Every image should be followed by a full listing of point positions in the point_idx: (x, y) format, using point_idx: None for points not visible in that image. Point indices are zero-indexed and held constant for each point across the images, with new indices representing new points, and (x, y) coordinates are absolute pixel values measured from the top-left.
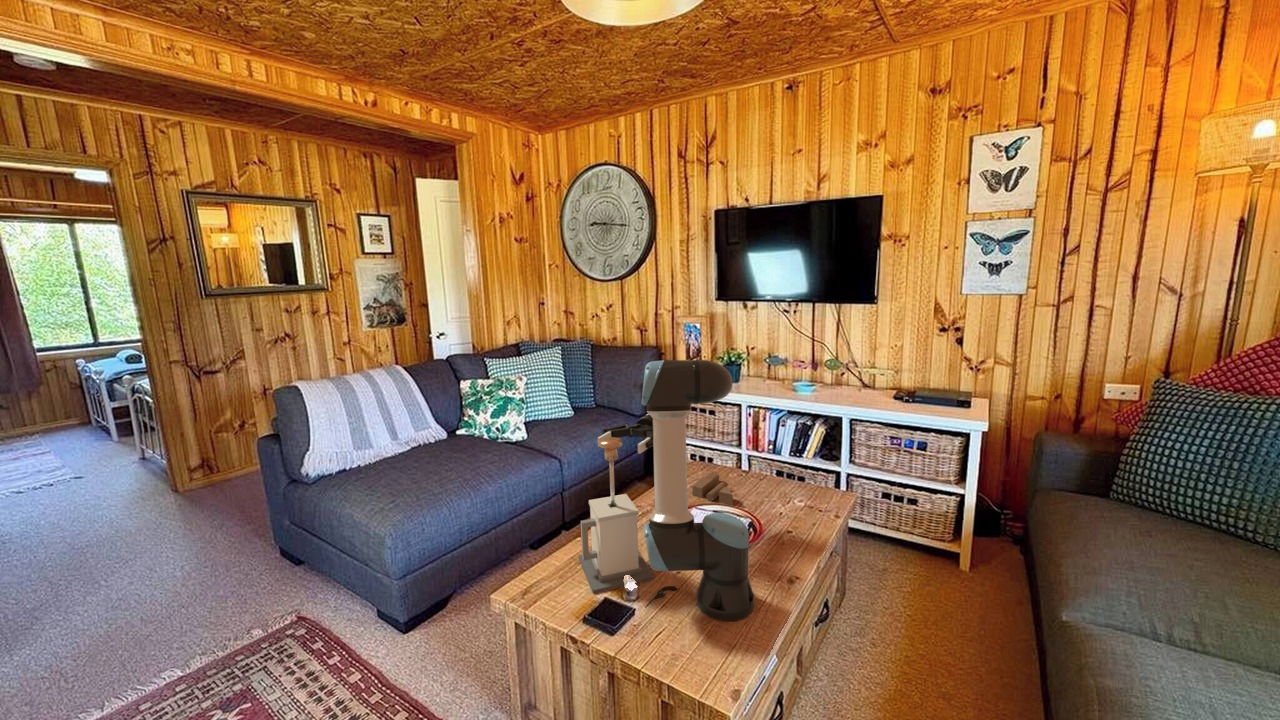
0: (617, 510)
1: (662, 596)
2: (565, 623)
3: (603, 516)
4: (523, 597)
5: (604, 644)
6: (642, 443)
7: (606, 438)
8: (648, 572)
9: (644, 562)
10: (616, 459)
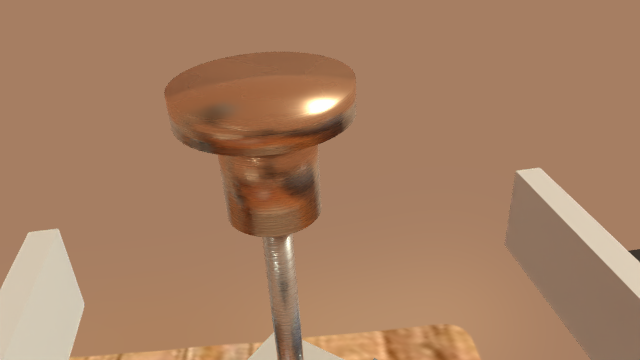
0: None
1: None
2: None
3: (267, 345)
4: (428, 346)
5: (156, 355)
6: (12, 272)
7: (332, 88)
8: None
9: None
10: (227, 212)
